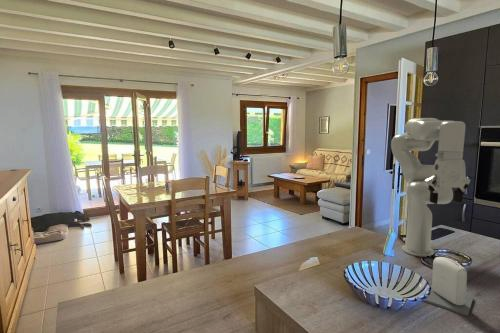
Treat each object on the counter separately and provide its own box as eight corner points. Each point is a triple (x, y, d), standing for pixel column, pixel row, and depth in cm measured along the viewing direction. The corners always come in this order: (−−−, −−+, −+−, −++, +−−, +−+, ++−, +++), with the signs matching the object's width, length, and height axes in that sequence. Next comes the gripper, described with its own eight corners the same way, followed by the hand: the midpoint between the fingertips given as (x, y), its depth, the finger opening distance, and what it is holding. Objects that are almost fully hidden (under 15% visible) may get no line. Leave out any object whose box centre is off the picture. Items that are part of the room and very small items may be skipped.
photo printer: (429, 289, 100) (431, 254, 99) (440, 288, 101) (442, 253, 100) (455, 307, 90) (458, 267, 89) (467, 305, 91) (470, 266, 90)
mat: (430, 286, 104) (430, 284, 104) (473, 299, 96) (473, 297, 96) (421, 300, 95) (421, 298, 95) (467, 316, 87) (467, 313, 87)
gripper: (435, 157, 103) (431, 206, 106) (480, 156, 105) (475, 204, 108) (420, 155, 111) (416, 200, 113) (463, 154, 113) (459, 198, 115)
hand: (445, 202), depth 110 cm, fingers open, 9 cm apart
